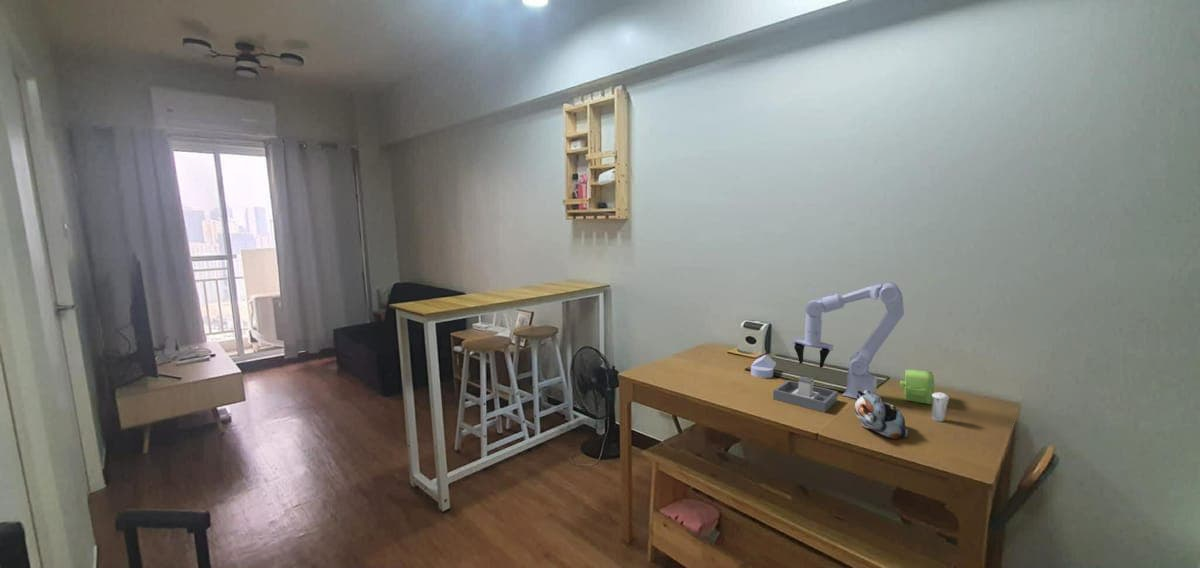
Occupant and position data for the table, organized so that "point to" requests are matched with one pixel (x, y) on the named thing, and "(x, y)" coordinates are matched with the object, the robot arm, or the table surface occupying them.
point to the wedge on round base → (763, 367)
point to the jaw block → (805, 386)
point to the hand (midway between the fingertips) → (811, 364)
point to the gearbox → (918, 386)
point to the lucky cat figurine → (880, 415)
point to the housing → (817, 402)
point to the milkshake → (939, 406)
